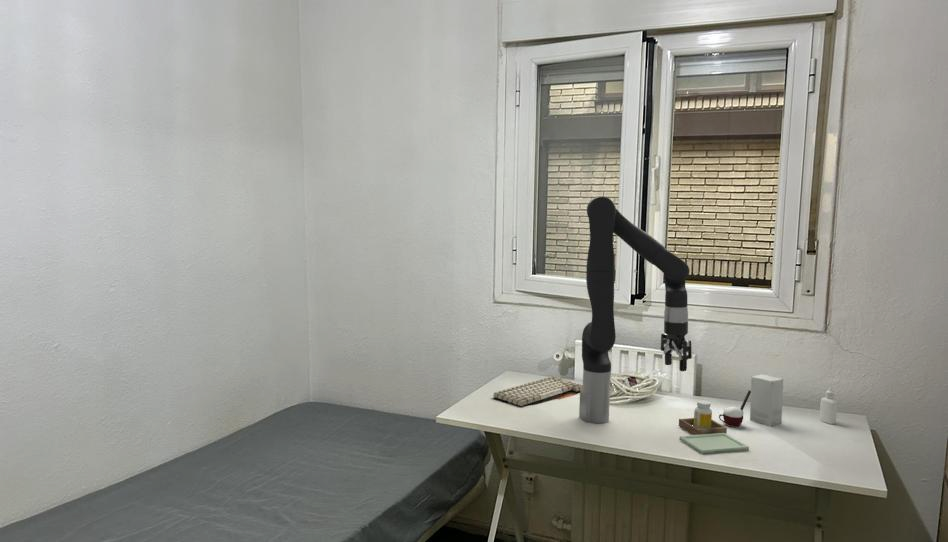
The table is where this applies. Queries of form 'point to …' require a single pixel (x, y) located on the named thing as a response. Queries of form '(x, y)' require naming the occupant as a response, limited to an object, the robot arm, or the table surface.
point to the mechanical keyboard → (538, 392)
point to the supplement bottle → (702, 415)
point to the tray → (713, 443)
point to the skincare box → (766, 399)
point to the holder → (693, 430)
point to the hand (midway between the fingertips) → (675, 367)
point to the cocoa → (734, 414)
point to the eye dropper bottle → (828, 408)
